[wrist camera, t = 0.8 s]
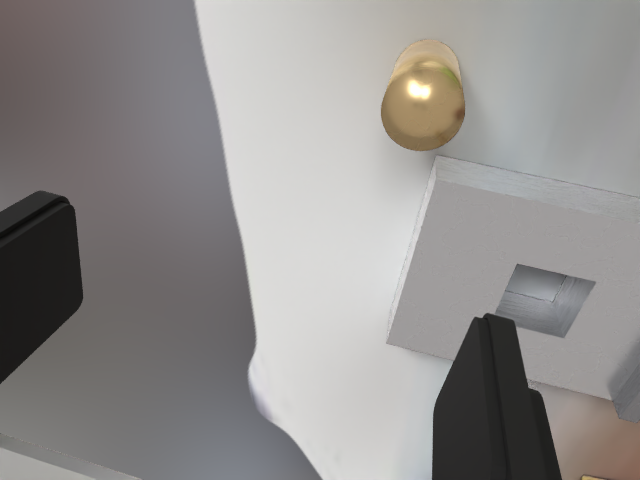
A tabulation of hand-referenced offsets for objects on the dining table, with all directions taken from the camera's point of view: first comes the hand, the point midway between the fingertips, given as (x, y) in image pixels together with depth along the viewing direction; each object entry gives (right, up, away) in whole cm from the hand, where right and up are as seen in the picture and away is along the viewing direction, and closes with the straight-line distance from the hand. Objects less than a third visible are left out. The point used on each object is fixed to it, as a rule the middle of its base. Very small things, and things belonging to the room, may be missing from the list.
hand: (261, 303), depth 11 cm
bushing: (+8, +12, +19) cm, 24 cm away
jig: (+17, -1, +25) cm, 30 cm away
